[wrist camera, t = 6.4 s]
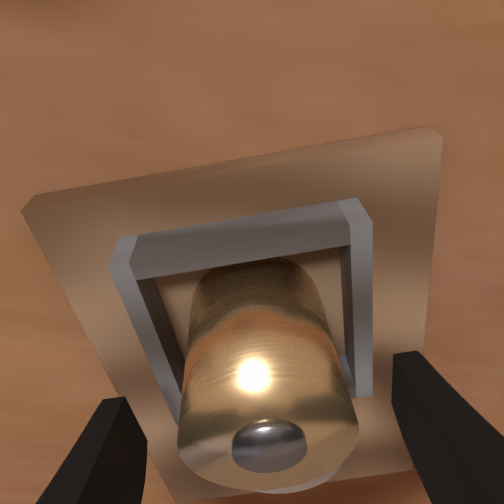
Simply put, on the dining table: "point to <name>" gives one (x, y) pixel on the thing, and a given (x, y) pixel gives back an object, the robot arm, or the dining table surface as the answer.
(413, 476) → the dining table surface
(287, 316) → the gold knobbed cylinder
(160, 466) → the carrier board
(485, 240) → the dining table surface
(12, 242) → the dining table surface
